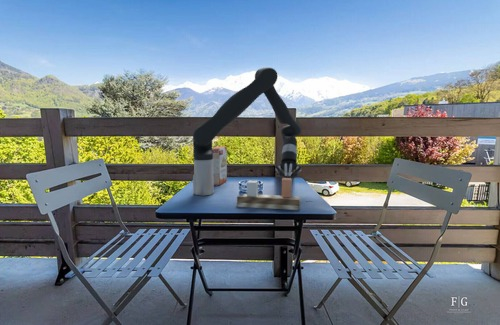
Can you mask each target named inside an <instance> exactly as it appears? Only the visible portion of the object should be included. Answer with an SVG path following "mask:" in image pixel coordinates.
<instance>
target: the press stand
mask: <svg viewBox="0 0 500 325" xmlns="http://www.w3.org/2000/svg"><path fill="white" fill-rule="evenodd" d="M300 205H301V196H296V195H295V196H292V195H291V198H286V197H282V195H275V194H273V195H272V194H258V197H250V196H247V193H244V194H243V195H237V196H236V207H240V208H241V207H242V208H256V209H257V208H258V209H270V210H271V209H274V210H292V211H300Z"/></svg>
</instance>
